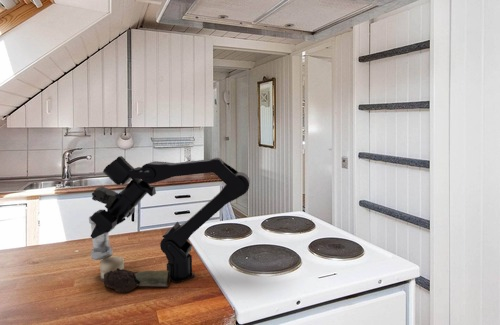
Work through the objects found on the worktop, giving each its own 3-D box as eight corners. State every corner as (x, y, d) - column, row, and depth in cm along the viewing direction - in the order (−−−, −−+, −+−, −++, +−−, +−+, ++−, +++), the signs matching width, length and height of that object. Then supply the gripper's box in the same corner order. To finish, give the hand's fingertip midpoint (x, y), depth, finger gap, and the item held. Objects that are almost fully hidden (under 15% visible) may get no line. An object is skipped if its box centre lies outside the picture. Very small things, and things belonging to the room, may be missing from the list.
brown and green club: (170, 282, 98) (169, 263, 98) (166, 293, 92) (165, 273, 91) (107, 284, 97) (106, 265, 96) (98, 296, 90) (97, 275, 90)
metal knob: (108, 250, 105) (105, 212, 104) (115, 255, 100) (112, 216, 99) (88, 256, 101) (85, 216, 100) (94, 261, 97) (91, 220, 95)
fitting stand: (120, 270, 106) (119, 254, 106) (128, 277, 101) (127, 260, 101) (97, 276, 102) (96, 260, 101) (104, 284, 97) (104, 267, 96)
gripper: (121, 173, 108) (89, 208, 109) (94, 182, 89) (56, 225, 90) (148, 196, 108) (115, 231, 110) (127, 211, 90) (88, 253, 91)
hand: (95, 234), depth 100 cm, fingers closed on metal knob, 4 cm apart
